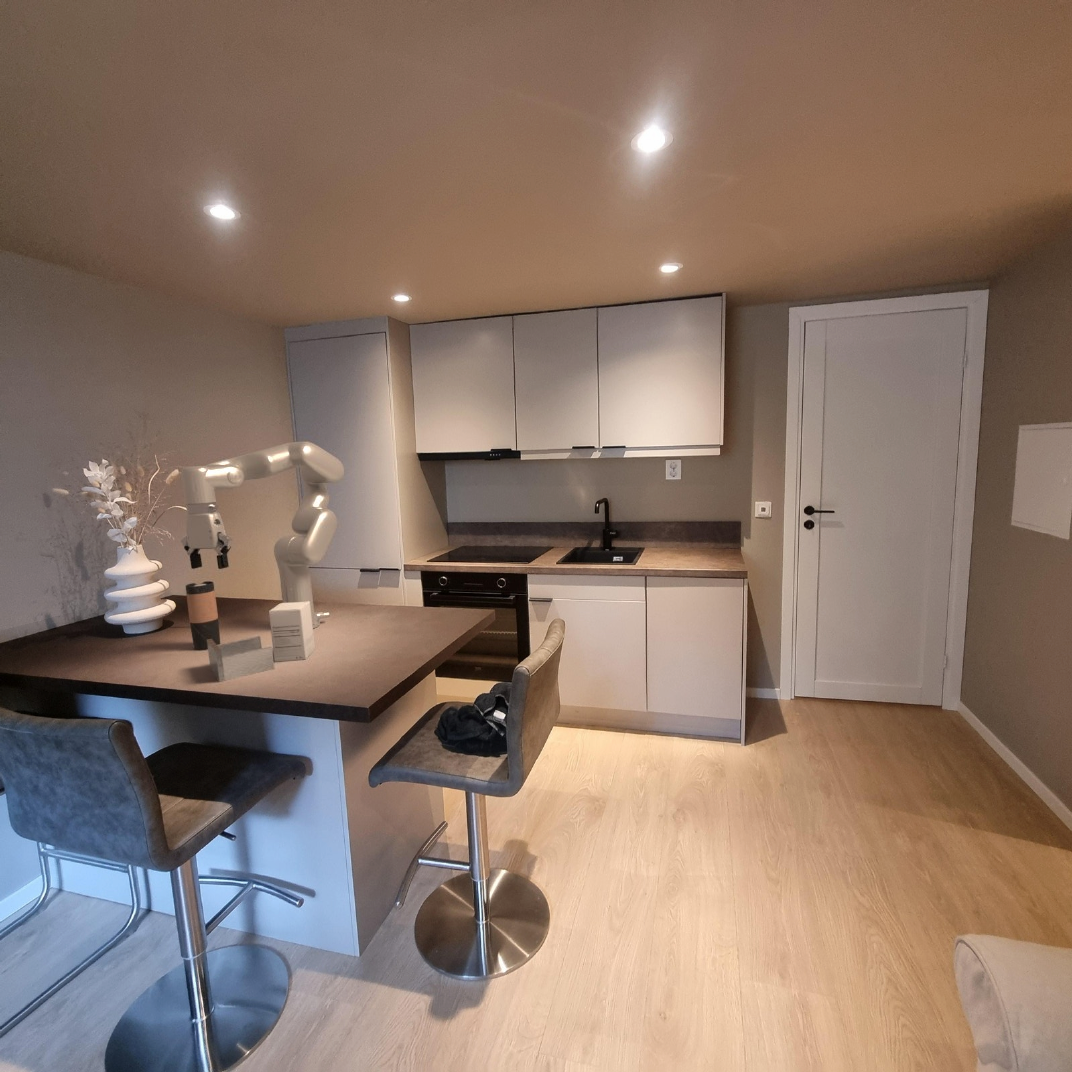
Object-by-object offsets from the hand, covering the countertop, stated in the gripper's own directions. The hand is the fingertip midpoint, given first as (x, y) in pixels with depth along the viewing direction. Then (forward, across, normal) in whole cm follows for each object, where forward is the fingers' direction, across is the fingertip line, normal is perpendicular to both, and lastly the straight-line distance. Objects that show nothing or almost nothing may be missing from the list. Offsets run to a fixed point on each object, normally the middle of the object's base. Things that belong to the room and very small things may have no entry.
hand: (210, 567), depth 164 cm
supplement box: (+27, -24, -2) cm, 36 cm away
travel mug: (+26, +11, -5) cm, 29 cm away
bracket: (+26, -16, +9) cm, 32 cm away
